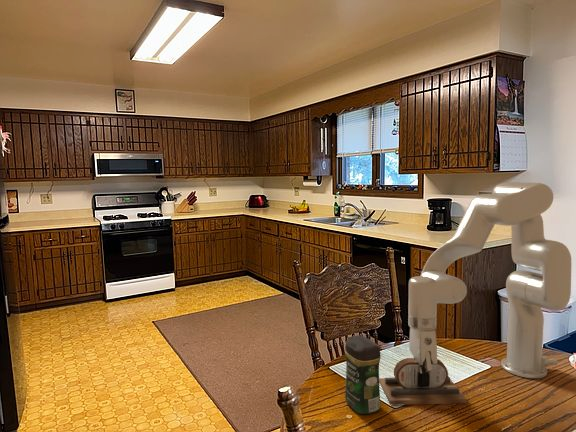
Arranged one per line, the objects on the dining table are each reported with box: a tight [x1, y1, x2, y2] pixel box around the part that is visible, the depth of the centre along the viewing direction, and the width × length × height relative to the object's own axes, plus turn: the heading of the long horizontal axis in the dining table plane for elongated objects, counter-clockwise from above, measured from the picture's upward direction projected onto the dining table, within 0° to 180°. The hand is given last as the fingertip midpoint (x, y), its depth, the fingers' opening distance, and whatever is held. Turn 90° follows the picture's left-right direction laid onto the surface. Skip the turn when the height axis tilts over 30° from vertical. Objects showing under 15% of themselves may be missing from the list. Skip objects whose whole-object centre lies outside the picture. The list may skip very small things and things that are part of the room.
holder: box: [379, 375, 468, 406], centre depth 114 cm, size 21×12×3 cm, turn 91°
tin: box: [393, 357, 449, 388], centre depth 114 cm, size 15×3×8 cm, turn 91°
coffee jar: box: [344, 334, 382, 415], centre depth 107 cm, size 10×8×19 cm
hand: (421, 382), depth 114 cm, fingers closed on tin, 2 cm apart
